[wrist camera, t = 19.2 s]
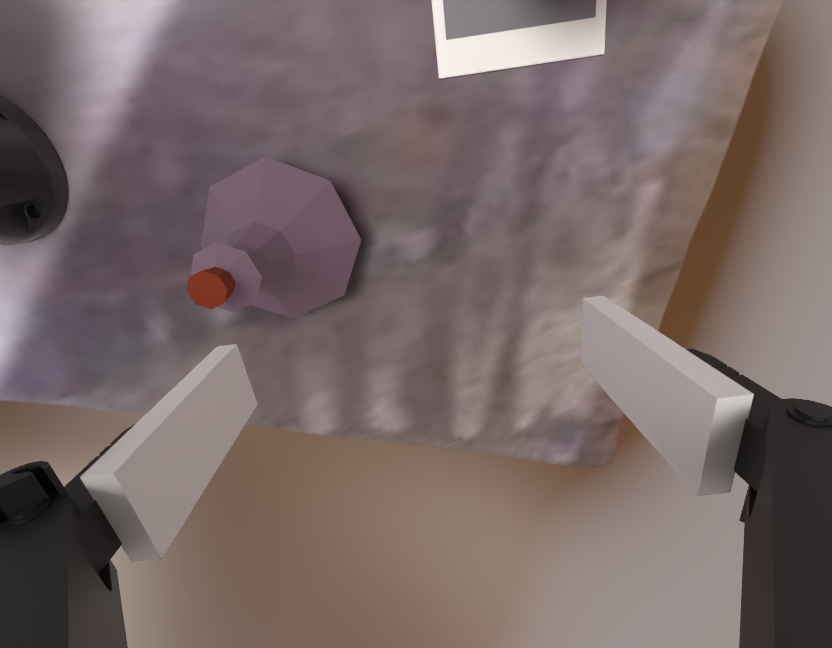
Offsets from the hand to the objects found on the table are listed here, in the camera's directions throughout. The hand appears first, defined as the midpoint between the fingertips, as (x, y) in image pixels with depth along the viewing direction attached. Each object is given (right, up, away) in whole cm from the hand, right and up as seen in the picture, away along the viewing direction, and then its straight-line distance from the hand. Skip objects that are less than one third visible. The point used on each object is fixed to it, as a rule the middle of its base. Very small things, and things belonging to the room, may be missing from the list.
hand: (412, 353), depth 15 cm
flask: (-14, +11, +29) cm, 34 cm away
